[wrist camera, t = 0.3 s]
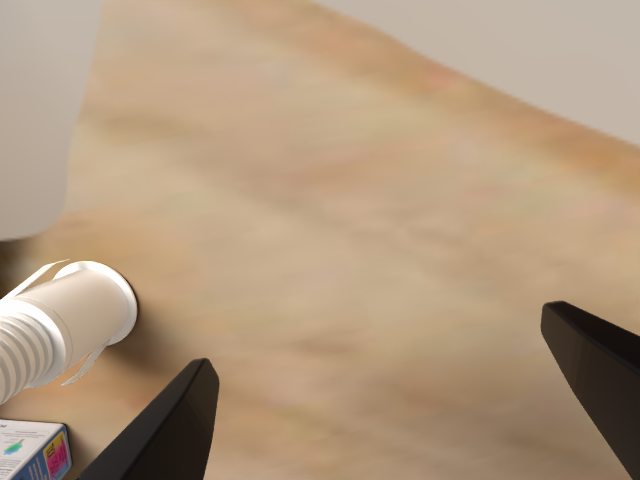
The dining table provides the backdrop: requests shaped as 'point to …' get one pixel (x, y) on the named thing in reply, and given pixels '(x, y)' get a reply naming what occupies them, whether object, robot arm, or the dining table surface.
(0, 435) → the ink cartridge box
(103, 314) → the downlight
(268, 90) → the dining table surface
